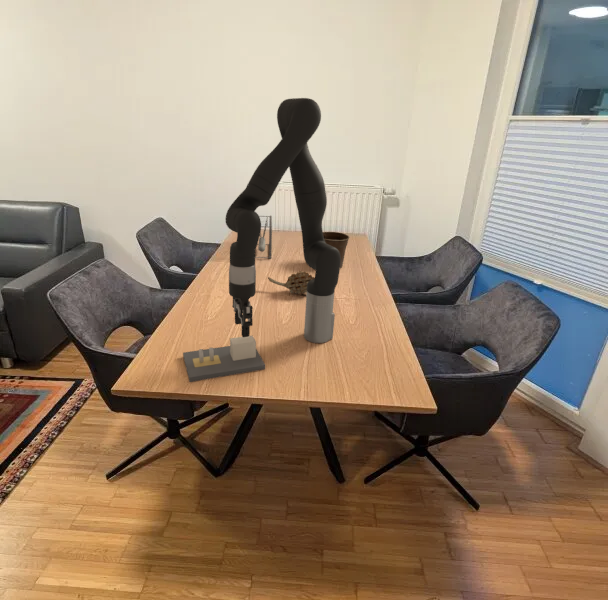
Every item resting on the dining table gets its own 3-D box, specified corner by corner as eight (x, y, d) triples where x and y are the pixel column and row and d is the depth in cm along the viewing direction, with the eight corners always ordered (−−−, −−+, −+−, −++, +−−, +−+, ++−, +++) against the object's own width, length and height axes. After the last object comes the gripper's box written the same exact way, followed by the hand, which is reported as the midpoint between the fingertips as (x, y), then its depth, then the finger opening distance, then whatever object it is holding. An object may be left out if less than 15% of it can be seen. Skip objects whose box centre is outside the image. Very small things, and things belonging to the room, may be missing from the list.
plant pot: (347, 271, 207) (350, 240, 201) (315, 270, 207) (317, 238, 201) (345, 261, 222) (348, 232, 216) (315, 260, 222) (317, 230, 215)
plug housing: (252, 350, 129) (252, 335, 127) (255, 357, 126) (256, 341, 123) (230, 354, 126) (229, 338, 124) (233, 360, 123) (232, 344, 121)
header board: (252, 346, 134) (252, 331, 132) (265, 369, 122) (265, 352, 120) (183, 356, 126) (182, 340, 124) (189, 382, 115) (188, 365, 112)
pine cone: (317, 290, 182) (318, 269, 178) (315, 299, 173) (316, 277, 169) (267, 286, 183) (268, 265, 179) (263, 294, 175) (264, 272, 171)
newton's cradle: (253, 243, 245) (253, 214, 237) (270, 244, 246) (271, 214, 238) (251, 259, 217) (251, 226, 210) (271, 260, 218) (272, 227, 211)
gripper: (262, 286, 111) (260, 339, 118) (248, 269, 123) (248, 318, 130) (235, 289, 109) (234, 342, 115) (224, 271, 121) (224, 320, 127)
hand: (241, 329), depth 122 cm, fingers open, 8 cm apart
